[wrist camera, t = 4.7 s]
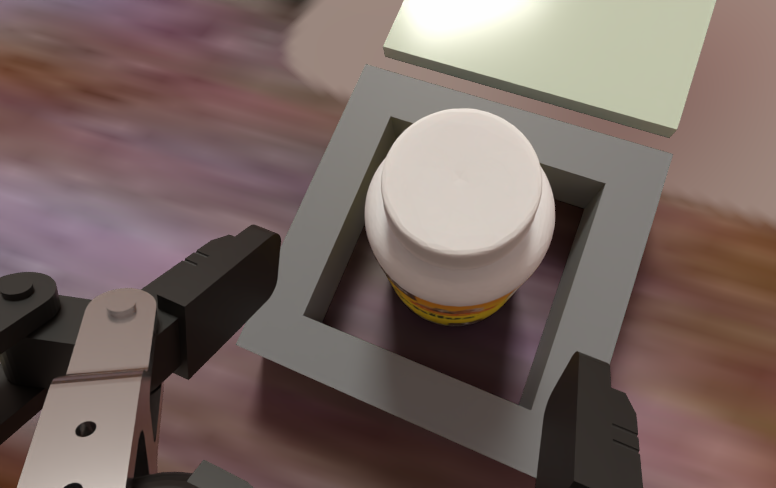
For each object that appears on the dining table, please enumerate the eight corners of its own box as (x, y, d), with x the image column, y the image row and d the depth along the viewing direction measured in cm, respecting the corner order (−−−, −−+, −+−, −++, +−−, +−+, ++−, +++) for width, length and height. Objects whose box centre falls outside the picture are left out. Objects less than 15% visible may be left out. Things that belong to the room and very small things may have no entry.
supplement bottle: (366, 284, 22) (303, 212, 12) (433, 185, 23) (424, 42, 13) (474, 355, 21) (501, 338, 11) (540, 247, 21) (622, 140, 12)
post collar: (263, 348, 22) (235, 344, 19) (375, 101, 24) (365, 64, 21) (551, 475, 19) (570, 493, 16) (642, 183, 22) (673, 154, 19)
